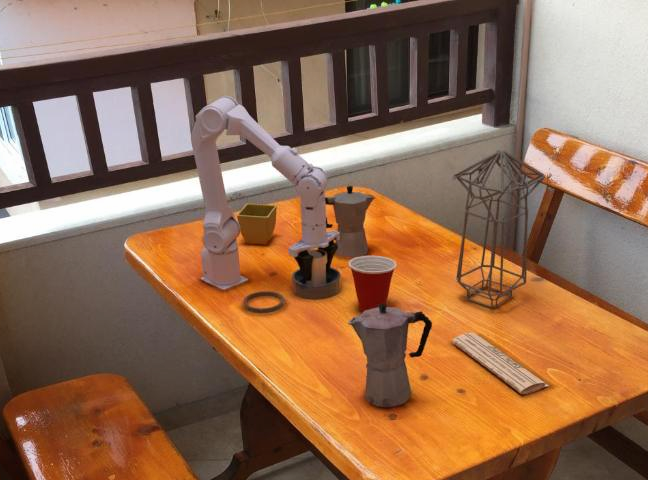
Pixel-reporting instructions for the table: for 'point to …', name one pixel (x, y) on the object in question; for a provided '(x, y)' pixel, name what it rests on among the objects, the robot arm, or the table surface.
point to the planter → (317, 290)
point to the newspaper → (499, 363)
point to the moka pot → (388, 352)
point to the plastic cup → (372, 279)
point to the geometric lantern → (486, 165)
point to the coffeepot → (350, 221)
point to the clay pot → (318, 267)
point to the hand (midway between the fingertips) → (316, 275)
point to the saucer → (263, 310)
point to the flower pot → (257, 222)
